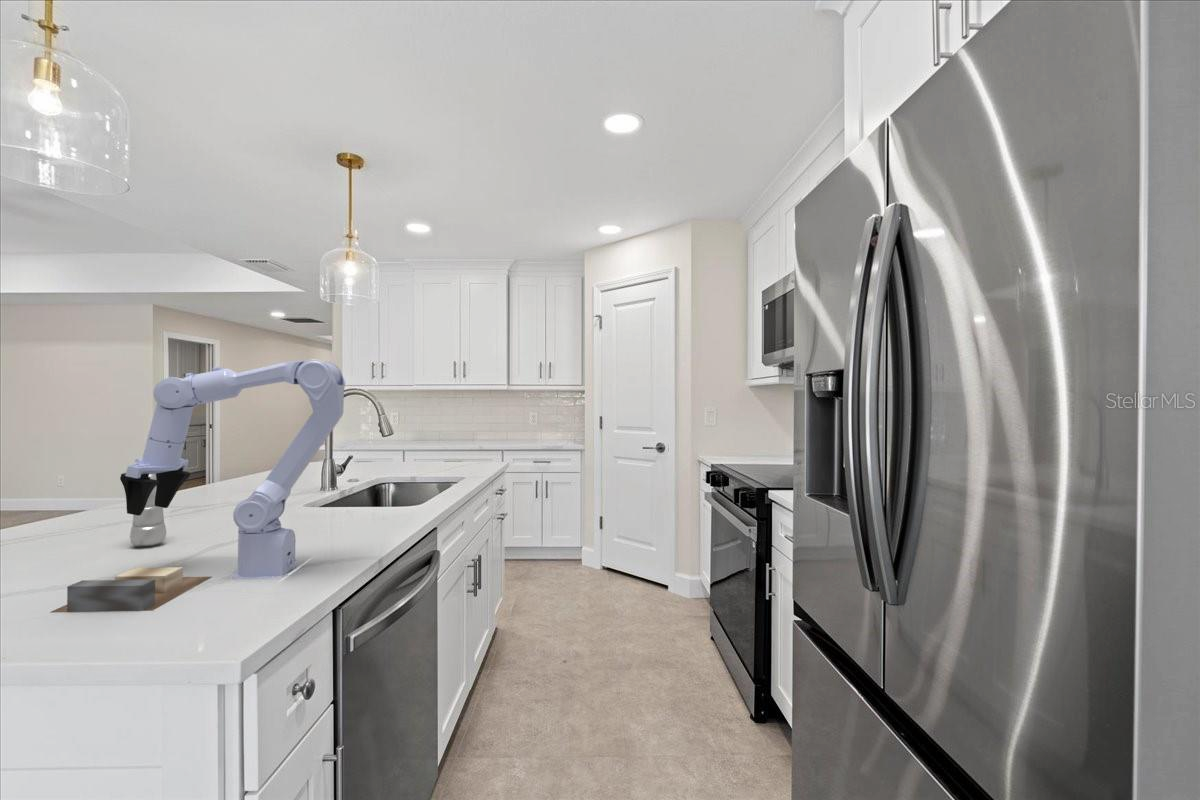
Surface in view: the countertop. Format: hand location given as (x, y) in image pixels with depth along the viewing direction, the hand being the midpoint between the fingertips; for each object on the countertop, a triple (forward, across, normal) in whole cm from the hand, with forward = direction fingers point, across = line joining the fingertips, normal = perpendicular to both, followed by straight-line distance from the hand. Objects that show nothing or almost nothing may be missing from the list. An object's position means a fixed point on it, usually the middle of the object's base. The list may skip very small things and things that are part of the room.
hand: (148, 510), depth 108 cm
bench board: (+12, +9, +7) cm, 17 cm away
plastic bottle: (+16, -24, -12) cm, 31 cm away
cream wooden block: (+11, +7, +8) cm, 15 cm away
